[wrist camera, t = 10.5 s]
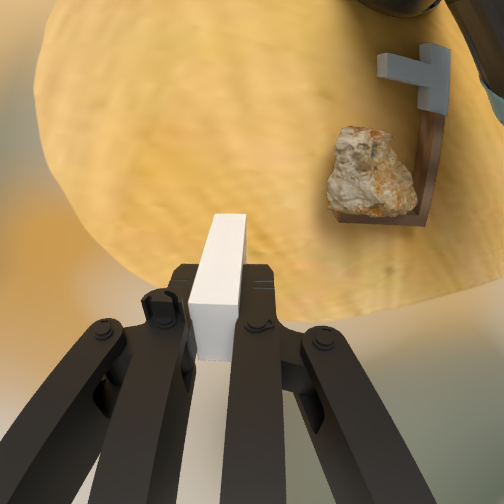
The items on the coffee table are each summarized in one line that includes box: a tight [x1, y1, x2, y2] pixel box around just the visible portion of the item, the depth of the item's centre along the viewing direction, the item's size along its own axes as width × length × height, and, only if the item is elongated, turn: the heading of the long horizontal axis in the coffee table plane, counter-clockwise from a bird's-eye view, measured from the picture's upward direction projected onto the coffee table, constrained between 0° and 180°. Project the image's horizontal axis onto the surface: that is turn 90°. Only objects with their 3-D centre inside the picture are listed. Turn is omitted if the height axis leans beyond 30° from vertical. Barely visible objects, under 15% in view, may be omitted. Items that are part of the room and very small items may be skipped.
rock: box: [326, 126, 418, 217], centre depth 30 cm, size 12×10×10 cm
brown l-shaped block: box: [332, 110, 445, 227], centre depth 32 cm, size 15×12×4 cm
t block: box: [377, 43, 450, 116], centre depth 26 cm, size 9×9×3 cm
